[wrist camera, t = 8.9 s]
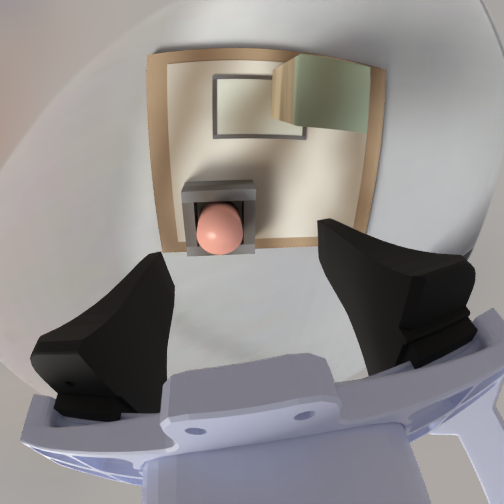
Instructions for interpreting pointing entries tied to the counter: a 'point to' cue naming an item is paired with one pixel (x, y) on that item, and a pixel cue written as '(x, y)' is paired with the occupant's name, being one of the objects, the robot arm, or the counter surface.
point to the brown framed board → (251, 152)
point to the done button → (219, 227)
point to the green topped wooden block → (321, 93)
